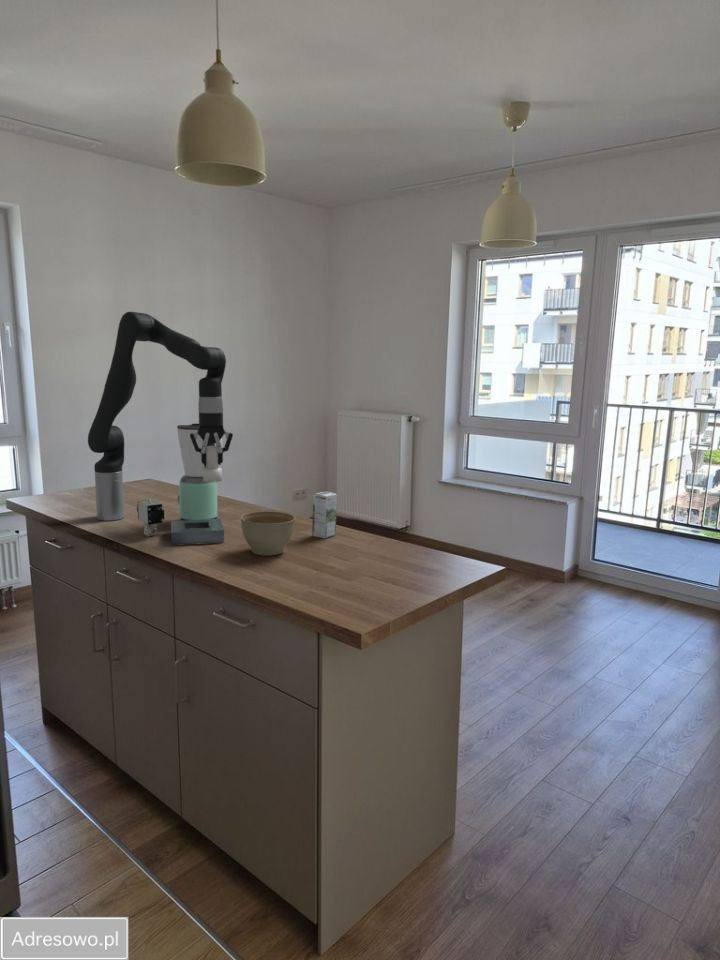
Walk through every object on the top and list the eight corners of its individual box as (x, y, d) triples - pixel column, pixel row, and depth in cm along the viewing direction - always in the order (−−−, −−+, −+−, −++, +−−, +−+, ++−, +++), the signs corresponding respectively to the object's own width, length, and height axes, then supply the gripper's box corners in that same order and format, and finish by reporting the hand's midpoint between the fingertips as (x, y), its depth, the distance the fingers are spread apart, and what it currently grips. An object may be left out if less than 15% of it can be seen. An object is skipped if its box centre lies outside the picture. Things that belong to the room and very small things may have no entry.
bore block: (171, 532, 214) (171, 520, 213) (220, 530, 218) (220, 518, 218) (171, 545, 199) (171, 532, 198) (224, 542, 203) (224, 530, 203)
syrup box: (322, 532, 218) (323, 490, 216) (336, 535, 215) (337, 493, 213) (311, 536, 214) (312, 493, 211) (325, 539, 211) (326, 495, 208)
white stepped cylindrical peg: (202, 479, 209) (201, 445, 207) (221, 478, 211) (220, 445, 209) (203, 482, 204) (202, 448, 202) (222, 481, 205) (221, 447, 203)
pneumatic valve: (150, 540, 204) (149, 503, 202) (136, 532, 213) (135, 496, 211) (167, 537, 208) (166, 501, 206) (153, 530, 217) (152, 495, 214)
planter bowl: (250, 562, 184) (250, 525, 182) (234, 547, 198) (234, 513, 196) (302, 556, 191) (303, 520, 189) (283, 542, 205) (283, 509, 203)
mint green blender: (167, 522, 227) (164, 423, 221) (193, 515, 239) (191, 421, 233) (209, 529, 219) (208, 427, 213) (234, 521, 231) (233, 424, 225)
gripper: (232, 410, 209) (233, 462, 212) (187, 410, 205) (189, 463, 208) (234, 411, 202) (235, 465, 205) (187, 412, 198) (189, 467, 201)
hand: (212, 464), depth 206 cm, fingers closed on white stepped cylindrical peg, 4 cm apart
